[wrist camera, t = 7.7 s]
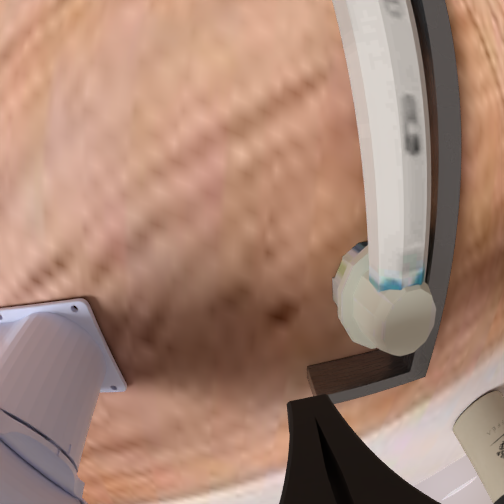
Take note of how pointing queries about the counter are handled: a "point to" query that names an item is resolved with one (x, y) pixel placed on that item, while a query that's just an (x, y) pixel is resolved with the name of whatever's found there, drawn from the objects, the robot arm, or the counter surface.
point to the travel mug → (485, 441)
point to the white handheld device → (388, 179)
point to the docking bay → (441, 219)
